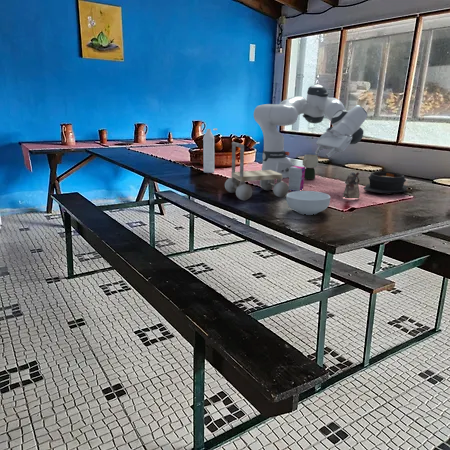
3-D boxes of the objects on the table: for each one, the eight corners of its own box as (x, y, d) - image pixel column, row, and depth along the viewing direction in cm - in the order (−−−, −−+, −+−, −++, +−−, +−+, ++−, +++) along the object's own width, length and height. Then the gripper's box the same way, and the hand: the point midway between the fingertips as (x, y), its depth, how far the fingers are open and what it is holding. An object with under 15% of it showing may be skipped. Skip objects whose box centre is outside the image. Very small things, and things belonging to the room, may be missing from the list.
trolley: (272, 189, 200) (274, 139, 192) (288, 196, 185) (291, 143, 178) (224, 192, 192) (224, 141, 184) (237, 201, 177) (238, 145, 170)
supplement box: (299, 192, 193) (300, 168, 190) (287, 190, 196) (289, 167, 193) (303, 190, 198) (305, 166, 194) (292, 188, 201) (293, 165, 197)
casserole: (381, 184, 211) (383, 168, 209) (416, 191, 198) (419, 174, 195) (353, 191, 196) (355, 174, 194) (389, 199, 182) (392, 180, 180)
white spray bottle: (206, 173, 237) (206, 129, 230) (201, 171, 243) (201, 128, 235) (219, 172, 241) (219, 128, 234) (214, 170, 247) (214, 128, 239)
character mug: (312, 177, 229) (313, 153, 225) (321, 179, 223) (323, 155, 219) (297, 179, 224) (298, 155, 220) (306, 181, 218) (307, 157, 214)
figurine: (340, 196, 186) (343, 170, 182) (356, 196, 186) (359, 170, 182) (344, 200, 179) (347, 173, 175) (360, 200, 179) (364, 173, 175)
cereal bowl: (322, 206, 169) (324, 190, 167) (334, 218, 154) (336, 200, 151) (282, 206, 169) (283, 190, 167) (289, 218, 153) (290, 200, 151)
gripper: (357, 140, 188) (337, 162, 188) (332, 136, 207) (314, 156, 207) (350, 131, 186) (330, 153, 185) (325, 127, 204) (307, 148, 204)
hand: (321, 155), depth 196 cm, fingers open, 8 cm apart
